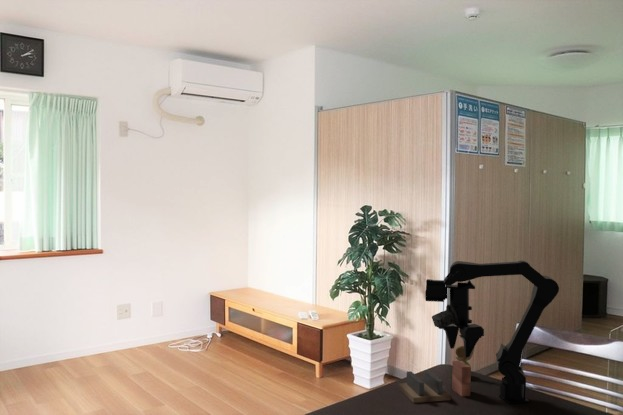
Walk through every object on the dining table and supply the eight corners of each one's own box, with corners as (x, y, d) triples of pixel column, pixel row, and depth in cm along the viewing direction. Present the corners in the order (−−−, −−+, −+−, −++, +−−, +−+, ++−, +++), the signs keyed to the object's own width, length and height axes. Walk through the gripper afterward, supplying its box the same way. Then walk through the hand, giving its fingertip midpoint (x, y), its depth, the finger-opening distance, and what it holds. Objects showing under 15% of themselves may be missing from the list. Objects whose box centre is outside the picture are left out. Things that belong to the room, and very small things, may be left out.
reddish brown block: (460, 388, 165) (461, 360, 165) (470, 395, 160) (470, 366, 159) (452, 389, 165) (452, 361, 165) (461, 396, 159) (461, 367, 159)
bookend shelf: (433, 385, 168) (433, 368, 168) (450, 399, 156) (451, 381, 156) (398, 388, 165) (398, 371, 165) (413, 402, 154) (413, 384, 154)
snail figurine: (473, 380, 173) (474, 344, 173) (453, 377, 175) (454, 342, 175) (474, 375, 178) (475, 340, 178) (455, 372, 180) (455, 338, 180)
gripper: (422, 298, 168) (422, 346, 168) (450, 310, 150) (450, 364, 150) (453, 296, 170) (453, 343, 171) (485, 308, 152) (485, 360, 153)
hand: (459, 352), depth 161 cm, fingers open, 9 cm apart
